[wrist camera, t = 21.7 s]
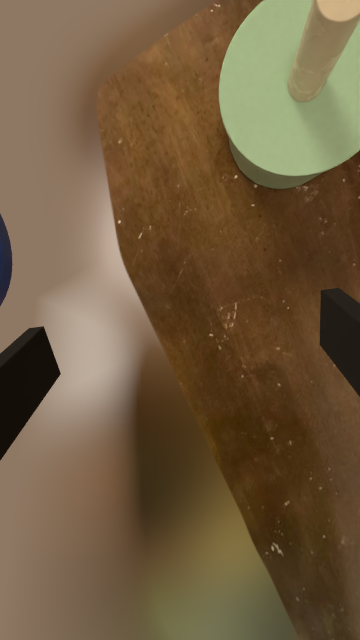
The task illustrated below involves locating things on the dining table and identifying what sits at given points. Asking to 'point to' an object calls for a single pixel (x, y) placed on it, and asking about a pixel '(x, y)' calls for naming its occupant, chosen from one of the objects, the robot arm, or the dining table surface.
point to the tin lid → (294, 86)
